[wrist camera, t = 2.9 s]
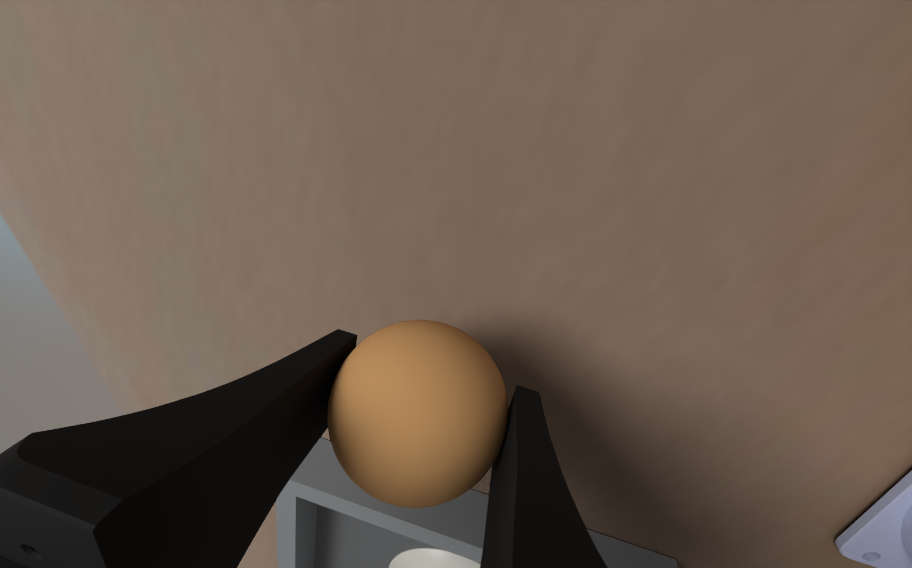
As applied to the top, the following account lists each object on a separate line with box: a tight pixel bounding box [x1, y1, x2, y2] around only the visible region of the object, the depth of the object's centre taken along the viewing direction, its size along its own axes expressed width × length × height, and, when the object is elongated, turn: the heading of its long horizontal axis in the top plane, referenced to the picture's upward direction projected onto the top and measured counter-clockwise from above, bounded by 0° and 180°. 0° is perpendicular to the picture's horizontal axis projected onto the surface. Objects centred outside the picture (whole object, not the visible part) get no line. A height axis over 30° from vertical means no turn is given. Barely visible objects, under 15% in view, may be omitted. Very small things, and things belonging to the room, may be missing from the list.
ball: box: [327, 320, 508, 508], centre depth 11 cm, size 5×5×5 cm
